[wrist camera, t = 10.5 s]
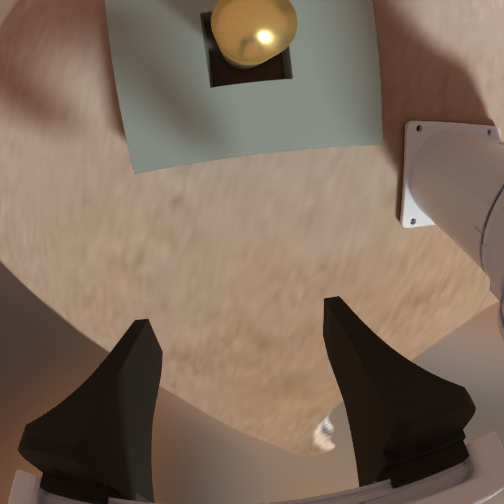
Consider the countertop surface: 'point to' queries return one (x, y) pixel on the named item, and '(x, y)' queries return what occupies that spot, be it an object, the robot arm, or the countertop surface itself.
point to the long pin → (253, 30)
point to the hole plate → (242, 84)
